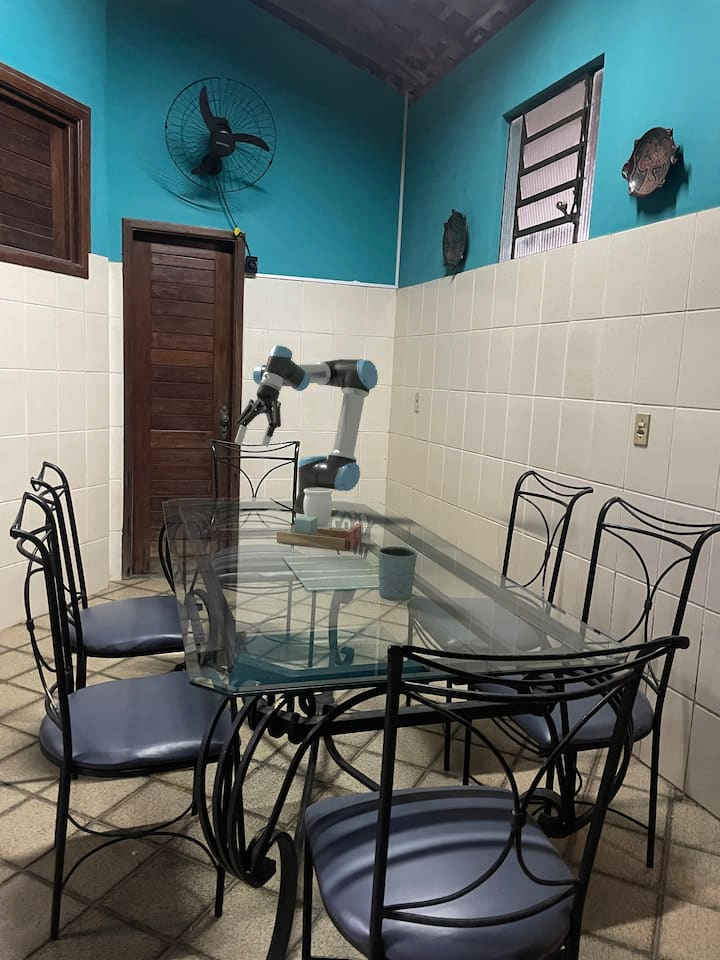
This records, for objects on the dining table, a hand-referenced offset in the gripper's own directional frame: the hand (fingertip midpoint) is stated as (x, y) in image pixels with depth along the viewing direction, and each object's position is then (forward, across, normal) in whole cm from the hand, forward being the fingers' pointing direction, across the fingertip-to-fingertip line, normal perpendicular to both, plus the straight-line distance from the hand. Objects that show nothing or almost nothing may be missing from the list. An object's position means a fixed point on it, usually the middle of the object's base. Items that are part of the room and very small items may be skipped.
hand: (250, 444), depth 237 cm
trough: (+25, +21, +25) cm, 41 cm away
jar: (+18, +7, +37) cm, 42 cm away
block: (+26, +16, +23) cm, 38 cm away
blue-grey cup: (+39, +74, +1) cm, 84 cm away
